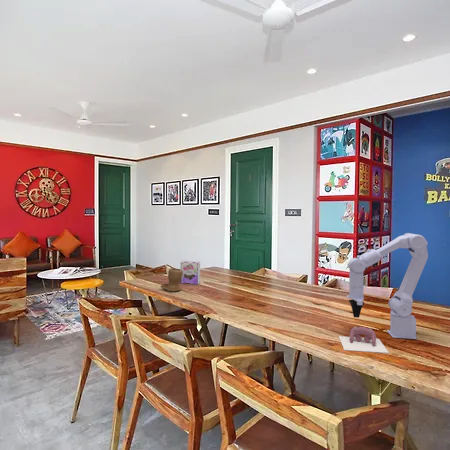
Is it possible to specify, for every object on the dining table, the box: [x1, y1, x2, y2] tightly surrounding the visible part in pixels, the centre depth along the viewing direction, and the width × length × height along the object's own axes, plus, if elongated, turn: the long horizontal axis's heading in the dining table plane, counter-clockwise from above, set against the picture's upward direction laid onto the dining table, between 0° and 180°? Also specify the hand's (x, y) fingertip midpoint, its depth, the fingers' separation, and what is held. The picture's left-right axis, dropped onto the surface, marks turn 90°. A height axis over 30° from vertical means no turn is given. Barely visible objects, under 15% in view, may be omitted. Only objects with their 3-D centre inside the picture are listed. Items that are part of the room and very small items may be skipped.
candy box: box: [180, 260, 201, 285], centre depth 246 cm, size 14×6×16 cm, turn 73°
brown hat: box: [160, 267, 183, 292], centre depth 225 cm, size 15×12×15 cm
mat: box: [338, 335, 390, 354], centre depth 132 cm, size 16×14×1 cm
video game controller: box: [349, 326, 377, 346], centre depth 134 cm, size 10×5×7 cm, turn 65°
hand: (356, 317), depth 143 cm, fingers closed
